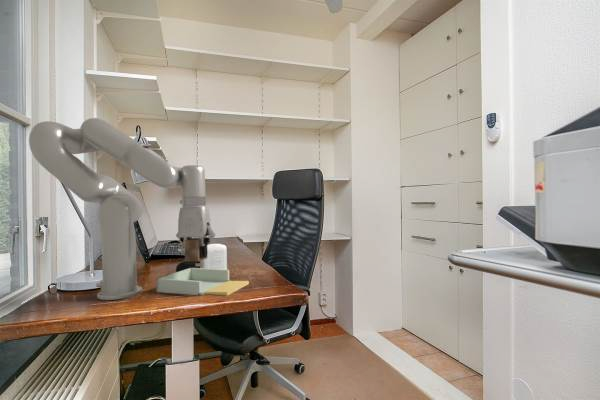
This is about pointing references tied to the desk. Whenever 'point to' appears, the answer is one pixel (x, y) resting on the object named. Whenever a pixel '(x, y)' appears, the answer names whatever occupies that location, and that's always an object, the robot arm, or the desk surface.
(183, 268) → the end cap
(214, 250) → the photo printer
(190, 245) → the walnut block
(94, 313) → the desk surface
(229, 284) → the tailgate
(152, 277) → the desk surface
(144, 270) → the desk surface
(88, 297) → the desk surface
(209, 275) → the pale green tray
